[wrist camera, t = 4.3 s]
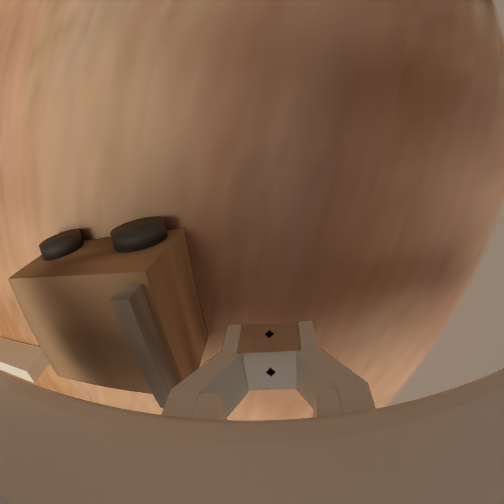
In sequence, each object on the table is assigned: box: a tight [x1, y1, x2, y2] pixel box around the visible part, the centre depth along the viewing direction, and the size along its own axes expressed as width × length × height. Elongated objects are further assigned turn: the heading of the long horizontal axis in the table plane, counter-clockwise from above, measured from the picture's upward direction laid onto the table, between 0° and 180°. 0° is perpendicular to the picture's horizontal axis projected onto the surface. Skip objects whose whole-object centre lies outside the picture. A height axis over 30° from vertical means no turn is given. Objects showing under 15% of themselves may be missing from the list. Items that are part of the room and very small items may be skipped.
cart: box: [8, 217, 208, 408], centre depth 11 cm, size 8×7×5 cm
